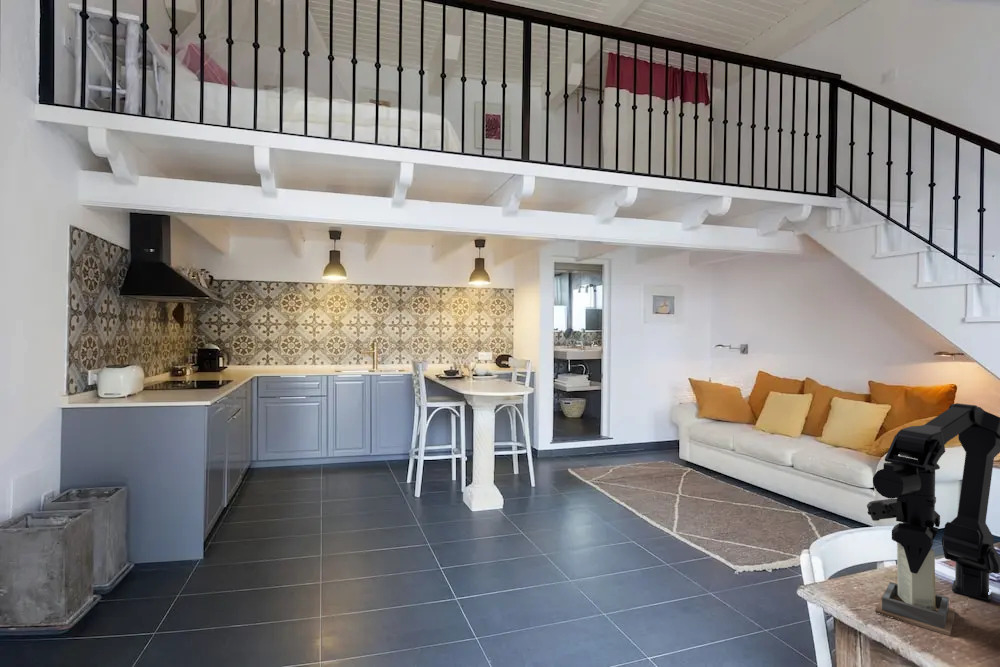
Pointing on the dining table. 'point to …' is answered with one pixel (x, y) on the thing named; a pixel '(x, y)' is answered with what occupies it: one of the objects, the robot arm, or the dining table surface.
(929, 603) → the skincare box
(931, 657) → the dining table surface
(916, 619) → the box stand
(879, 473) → the robot arm
